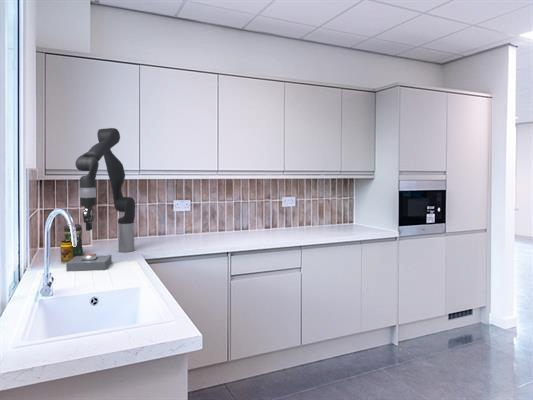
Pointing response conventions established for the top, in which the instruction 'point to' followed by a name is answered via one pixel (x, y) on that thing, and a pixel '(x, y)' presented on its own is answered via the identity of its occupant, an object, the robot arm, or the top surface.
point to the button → (89, 257)
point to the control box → (88, 263)
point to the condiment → (66, 251)
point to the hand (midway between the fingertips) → (89, 230)
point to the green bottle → (78, 249)
